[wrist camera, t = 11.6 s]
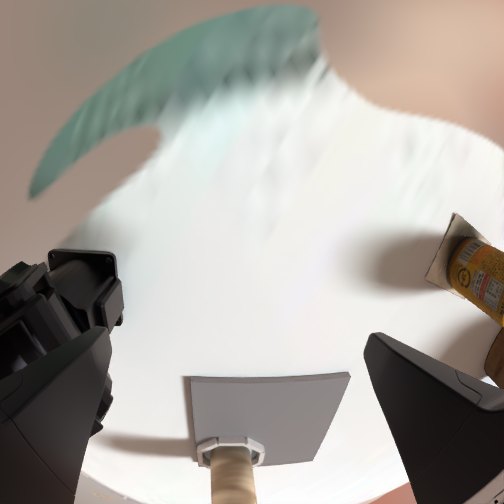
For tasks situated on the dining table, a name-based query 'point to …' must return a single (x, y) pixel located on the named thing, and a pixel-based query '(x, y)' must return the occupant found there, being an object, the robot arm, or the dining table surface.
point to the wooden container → (496, 361)
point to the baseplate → (265, 415)
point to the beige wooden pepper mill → (232, 476)
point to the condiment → (470, 269)
